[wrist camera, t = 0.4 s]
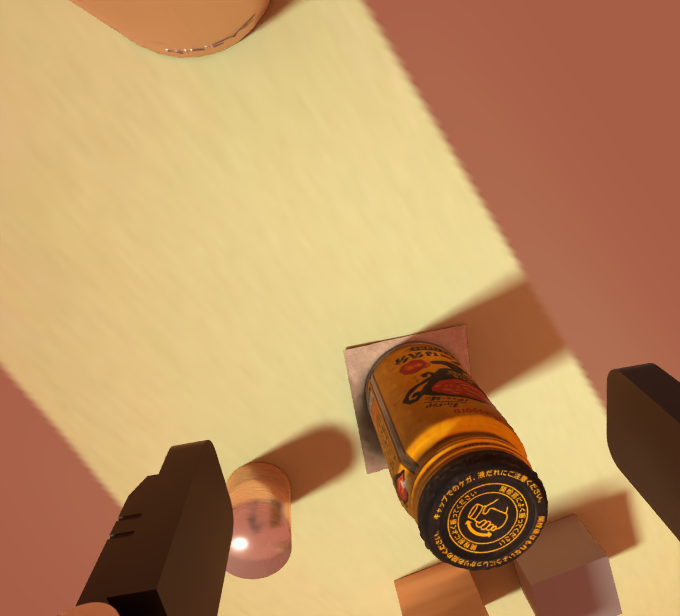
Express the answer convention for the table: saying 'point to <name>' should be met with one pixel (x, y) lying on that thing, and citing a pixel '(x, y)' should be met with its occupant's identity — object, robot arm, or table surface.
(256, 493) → the metal cylinder
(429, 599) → the maple block
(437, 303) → the table surface
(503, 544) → the condiment
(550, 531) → the rubber block
